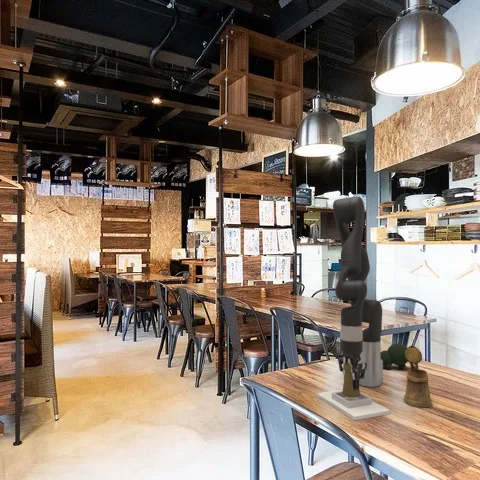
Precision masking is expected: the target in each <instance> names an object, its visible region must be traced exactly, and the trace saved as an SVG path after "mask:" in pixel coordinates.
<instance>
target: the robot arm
mask: <svg viewBox="0 0 480 480" xmlns="http://www.w3.org/2000/svg"><path fill="white" fill-rule="evenodd" d="M332 203H333V204H332V210H333V217H334V221H335V225H336V227H337V228H336V229H337V231H338V237H339V240H340V244H341V250H340V271H339V276H338V279H337V281H336V285H335V290H334V291H335V292H334V293H335V297H336V298H337V299H338V300H339V301H350V306H345V307H343V308H341V310H340V328H339V329H340V331H339V332H340V333H339V334H340V335H339V337H340V338H339V347H340V348H339V349H340V350H339V351H340V352H341V353H339V354H336V355H337V357H336V358H337V363H338V368H339V372H342V375H343V377H344V376H345V371H344V368H343V366H344V363H346V362H348V363H349V365H350V367H351V372H352V378H353V390H354V391H355V390H356V389H357V390H359V389H360V386H363V387H369V388H370V387H371V388H375V387H379V386H381V385H383V384H384V383H383V382H384V377H383V376H384V373H383V372H384V371H383V369H384V366H383V360H382V359H381V352H382V351H381V346H382V345H381V337H382V332H383V331H382V329H383V328H382V327H383V326H382V325H383V323H382V322H383V306H382V305H383V304H382V303H381V302H380V301H379V300H375V299H369V298H366V297H367V295H368V294H367V293H368V286H367V284H366V280H367V277H368V275H369V273H370V271H371V266H370V265H371V264H370V260H369V254H368V251H367V250H366V248H365V246H363V245H362V240H363V234H364V226H365V217H366V210H365V203H364V201H363V199H362V197H361V196H351V197H344V198H338V199H335V200H334V201H333V202H332ZM353 222H354V224H353V227H352V230H351V231H350V229H349V226H348V225H347V223H353ZM363 323H365V324H368V326H367V328H368V329H366V328H365V329H366V330H364V329H363ZM353 367H354V368H355V367H358V369H357V370H354V369H353ZM355 372H357V374H356V376H355Z"/></svg>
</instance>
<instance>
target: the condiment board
mask: <svg viewBox="0 0 480 480" xmlns="http://www.w3.org/2000/svg"><path fill="white" fill-rule="evenodd" d="M342 392H343V389H337V390H331V391H330V390H329V391H325V392H318V393H316V397H317V398H318V399H319V400H321V401H322V402H325V403H326V404H328V406H331V408H334V409H335V410H337V411H338V412H340V413H342V414H343V415H345V416H347V417H348V418H350V419H351V420H352V421H361V420H366V419H370V418H376V417H381V416H386V415H391V409H389V408H387V407H385V406H383V405H381V404H379V403H377V402H375V401H374V400H373V398H372V397H370V396H368V395H366V394H365V393H363V392H361V391H360V396H359V397H356V398H351V397H346V396H344V395H343V394H342Z"/></svg>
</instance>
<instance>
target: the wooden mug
mask: <svg viewBox="0 0 480 480" xmlns="http://www.w3.org/2000/svg"><path fill="white" fill-rule="evenodd" d="M404 354H405V359H406V360H407V361H408V362H407V363H409V366H410V368H409V369H408V372H407V373H406V377H405V378H406V379H407V380H406V387H405V394H404V397H403V401H404V403H405V404H407V405H409V406H412V407H415V408H422V409H423V408H431V407H432V406H433V401H432V398H431V393H430V388H429V387H430V385H429V376H428V371H426V370H425V369H419V363H421V362H422V360H423V353H422V352H421V351H420V349H419V348H418V347H416V346H414V345H413V344H411V345H410V346H408V347H407V349H406V350H405V353H404Z"/></svg>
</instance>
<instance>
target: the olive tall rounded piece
mask: <svg viewBox="0 0 480 480" xmlns="http://www.w3.org/2000/svg"><path fill="white" fill-rule="evenodd" d="M342 368H344V371H345V376H344V375H343V384H342V385H343V387H342V390H343V392H342V394H343V395H344V396H346V397H351V398H356V397H359V396H360V392H361V390H360V388H359V390H357V389H356V390H355V391H354V390H353V378H352V372H351V367H350V365H349V363H348V362H346V363H344V366H343V365H342ZM353 369H354V370H357V369H358V367H355V368H354V367H353ZM356 374H357V372H355V376H356Z"/></svg>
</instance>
